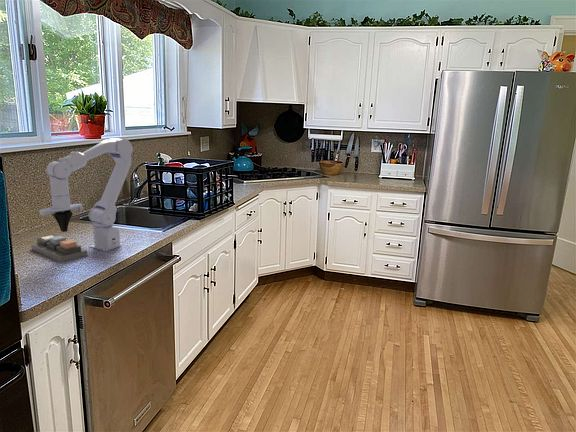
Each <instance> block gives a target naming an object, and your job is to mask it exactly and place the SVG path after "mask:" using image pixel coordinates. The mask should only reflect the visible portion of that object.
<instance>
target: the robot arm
mask: <svg viewBox="0 0 576 432" xmlns="http://www.w3.org/2000/svg"><path fill="white" fill-rule="evenodd" d="M133 151H134V148H133V145H132V143H131V141H130V140H129V139H127V138H117V137H116V138H115V137H109V138H107V139H104V140H102V141H101V142H99V143H97V144H96V145H94V146H92V147H90V148H88V149H86V150H85V151H82V152H80V151H71V152H70V153H69V155H67V156H64V157H59V158H58V161H50V162H49V163H48V165H46V168H45V170H44V171H45V174H46V175H47V176H48V177H49V185H50V186H49V187H50V194H51V203H52V206H50V207H47V208H42V209H39V211H38V212H39V215H40V216H42V217H44V216H48V215H52V216H53V218H54V219H55V220H56V222H57V224H58V226H59V229H60V231H61V232H62V233H65V232H68V229H69V223H70V221H71V218H72V217H73V212H72V211H78V210H80V211H81V210H83V209H84V206H83V205H84V204H83V203H73V204H71V199H70V198H71V197H70V186H69V180H68V179H69V177H70V175H71V173H73V172H75V171H78V170H79V169H81V168H83V167H85V166H86V165H87V162H88V161H90V160H92V159H94V158H96V157H100V156H101V155H103V154H105V153H107V154H109V155H110V156H111V158H113V161H114V163H115V166H114V167H113V170H112V172H111V174H110V176H109V180H108V181H107V184H106V186H105V189H104V191H103V194H102V196H101V199H99V200H98V201H96V202H95V203H94V206H93V207H92V208H91V209H90V210H89V211H88V219H89V221H91V222H92V230H93V244H91V245H89V247H90V248H93V249H97V250H100V251H110V250H113V249H116V248H119V247H122V246H123V244H121V238H120V231H119V228H117V227H116V226H114V223H115V221H116V219H117V218H116V215H117V212H118V209H117V206H116V202H117V200H118V197H119V195H120V193H121V191H122V188H123V185H124V183H125V181H126V178H127V176H128V173H129V170H130V169H131V166H132V153H133Z"/></svg>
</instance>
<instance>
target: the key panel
mask: <svg viewBox="0 0 576 432" xmlns="http://www.w3.org/2000/svg"><path fill="white" fill-rule="evenodd" d="M51 235H52V234H51ZM52 236H54V237H56V235H54V234H53V235H52ZM30 246H31V250H33V251H35V252H37V253H39V254H41V255H43V256H46V257H48V258H50V259H52V260H55V261H57V262H59V263H64V262H67V261H73V260H75V259H79V258H83V257H87V256H88V250H87V249H85V248H82V246H81V245H78V244H77V247H73V248H69V249H64V248H61V247H60V244H58V245H54V244H52V243H50V240H48V241H44V240H41V237H37V238H36V243H32V244H31V245H30Z"/></svg>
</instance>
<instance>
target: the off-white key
mask: <svg viewBox="0 0 576 432" xmlns="http://www.w3.org/2000/svg"><path fill="white" fill-rule="evenodd" d="M54 236H55V235H53V236H52V234H51V235H47V236H42V237H40V238H41V240H44V241H48V240H50V238H52V237H54Z"/></svg>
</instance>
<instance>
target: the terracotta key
mask: <svg viewBox="0 0 576 432" xmlns="http://www.w3.org/2000/svg"><path fill="white" fill-rule="evenodd" d="M77 245H78V243H77V241H75V240H73V239H66V241H62V242H60V247H61V248H64V249H69V248H73V247H77Z"/></svg>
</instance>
